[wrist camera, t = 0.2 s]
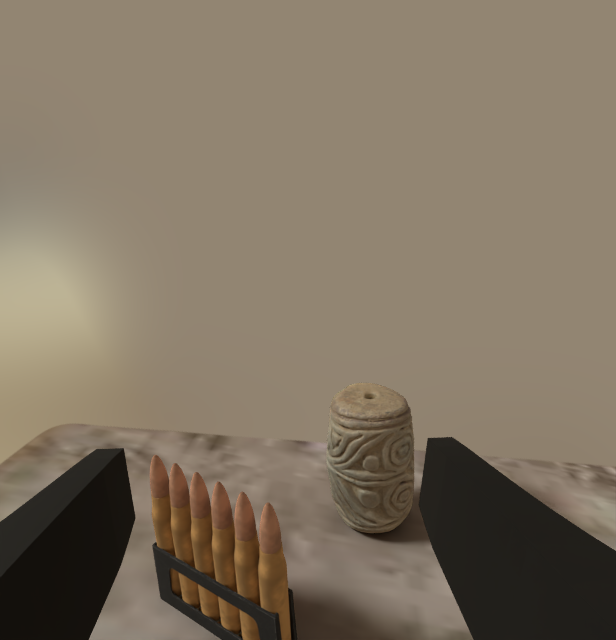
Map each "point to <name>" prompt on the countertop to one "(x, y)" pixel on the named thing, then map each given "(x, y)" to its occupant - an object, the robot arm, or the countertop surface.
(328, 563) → the countertop surface
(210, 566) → the ammunition clip
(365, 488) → the carving
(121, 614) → the countertop surface
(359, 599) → the countertop surface
